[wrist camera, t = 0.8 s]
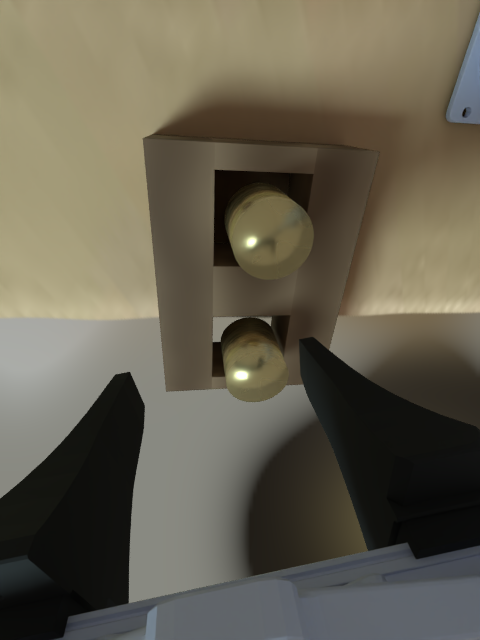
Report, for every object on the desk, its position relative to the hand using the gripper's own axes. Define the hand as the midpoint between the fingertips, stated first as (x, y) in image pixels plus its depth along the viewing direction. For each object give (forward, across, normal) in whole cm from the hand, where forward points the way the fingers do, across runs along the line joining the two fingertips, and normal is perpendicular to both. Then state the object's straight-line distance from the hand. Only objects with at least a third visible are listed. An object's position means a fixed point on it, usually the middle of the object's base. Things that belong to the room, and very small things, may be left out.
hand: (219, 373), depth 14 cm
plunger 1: (+7, -3, -4) cm, 9 cm away
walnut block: (+10, -3, 0) cm, 10 cm away
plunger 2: (+7, -2, +4) cm, 8 cm away
